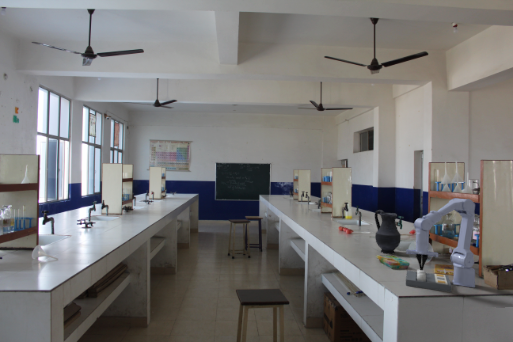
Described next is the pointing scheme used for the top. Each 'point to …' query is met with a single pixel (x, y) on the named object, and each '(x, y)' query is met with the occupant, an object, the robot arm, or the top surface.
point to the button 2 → (421, 277)
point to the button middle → (421, 271)
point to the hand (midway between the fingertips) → (421, 269)
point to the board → (429, 281)
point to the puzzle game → (393, 261)
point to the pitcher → (387, 232)
